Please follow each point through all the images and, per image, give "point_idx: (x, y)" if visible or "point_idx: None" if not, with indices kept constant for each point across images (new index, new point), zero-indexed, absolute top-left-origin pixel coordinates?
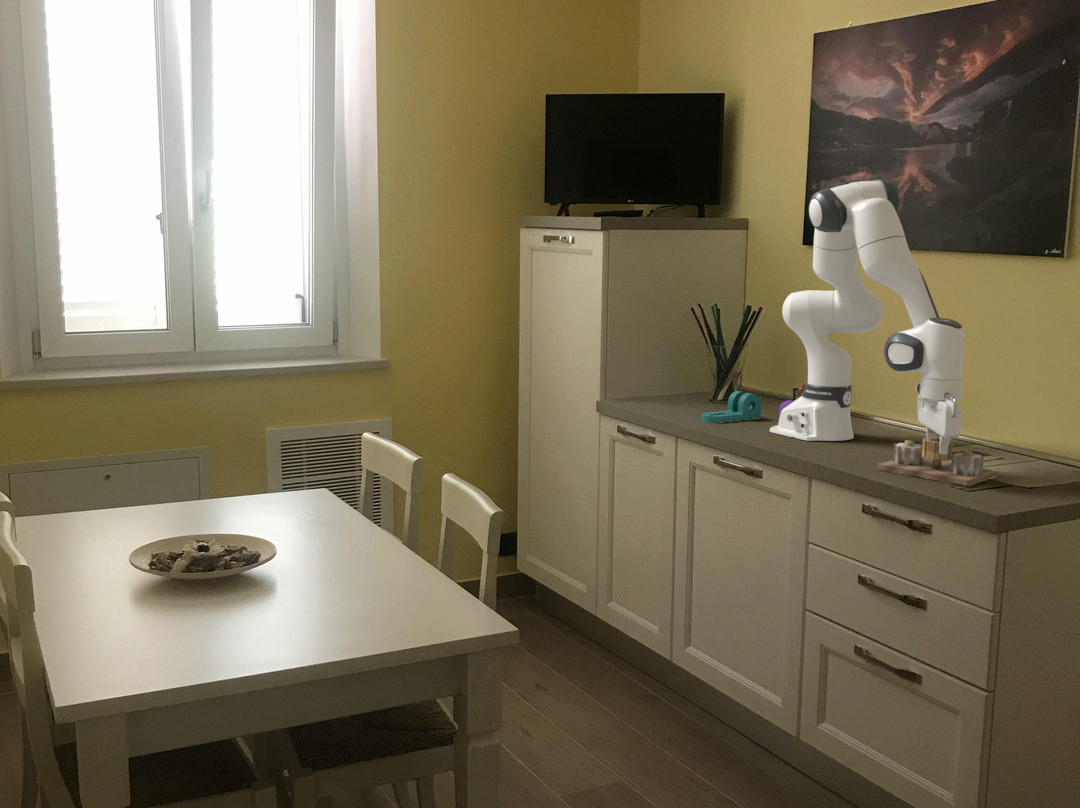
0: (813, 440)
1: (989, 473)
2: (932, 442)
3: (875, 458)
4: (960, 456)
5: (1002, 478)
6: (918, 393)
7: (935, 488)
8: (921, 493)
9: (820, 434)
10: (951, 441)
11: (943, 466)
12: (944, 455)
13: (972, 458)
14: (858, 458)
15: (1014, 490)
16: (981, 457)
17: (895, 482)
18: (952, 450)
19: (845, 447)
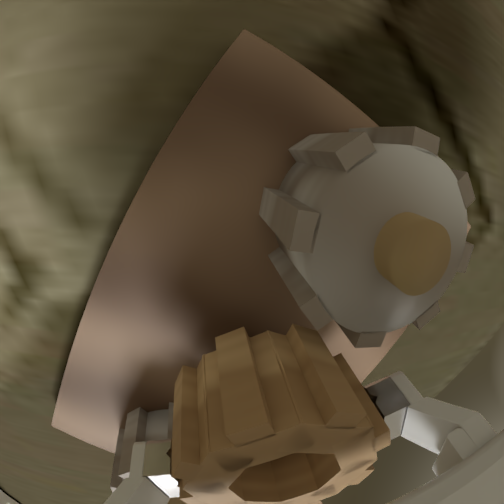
0: (14, 501)
1: (329, 86)
2: (364, 475)
3: (76, 466)
4: (436, 294)
5: (247, 20)
6: None
7: (460, 315)
8: (489, 336)
9: (2, 502)
10: (315, 422)
11: (207, 327)
12: (353, 375)
13: (464, 220)
14: (106, 489)
15: (455, 53)
16: (435, 150)
17: None
18: (313, 361)
19: (13, 479)
